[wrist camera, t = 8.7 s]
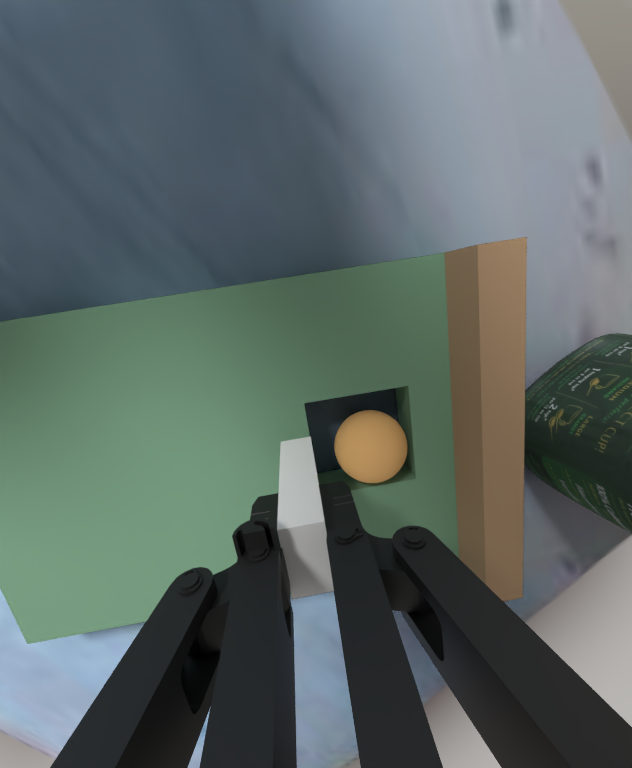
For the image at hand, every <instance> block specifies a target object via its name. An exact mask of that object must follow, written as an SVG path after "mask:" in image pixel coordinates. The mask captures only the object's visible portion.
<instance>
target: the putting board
mask: <svg viewBox="0 0 632 768" xmlns="http://www.w3.org/2000/svg"><path fill="white" fill-rule="evenodd" d="M526 254H527V237H524V238H518V239H511V240H505V241H498V242H492V243H485V244H479V245H474V246H470V247H466V248H462V249H458V250H454V251H450V252H446V253H440V254H434V255H427V256H421V257H414V258H408V259H401V260H395V261H388V262H382V263H375V264H369V265H362V266H356V267H350V268H343V269H337V270H330V271H324V272H317V273H311V274H304V275H298V276H291V277H285V278H278V279H272V280H265V281H259V282H252V283H246V284H239V285H233V286H227V287H220V288H214V289H207V290H201V291H194V292H188V293H181V294H175V295H168V296H162V297H155V298H149V299H142V300H136V301H129V302H123V303H116V304H110V305H104V306H97V307H91V308H84V309H78V310H71V311H65V312H58V313H52V314H45V315H39V316H32V317H26V318H19V319H13V320H6V321H0V589H1V591H2V593H3V595H4V597H5V599H6V601H7V603H8V605H9V607H10V609H11V611H12V613H13V615H14V617H15V619H16V621H17V624H18V626H19V628H20V630H21V632H22V634H23V636H24V638H25V640H26V642H27V644H30V643H35V642H41V641H46V640H51V639H57V638H62V637H67V636H72V635H78V634H83V633H88V632H94V631H99V630H104V629H109V628H115V627H120V626H125V625H131V624H136V623H141V622H146V621H147V620H148V618H149V616H150V615H151V613H152V612H153V610H154V609H155V607H156V606H157V604H158V603H159V601H160V600H161V598H162V597H163V595H164V594H165V592H166V591H167V589H168V588H169V586H170V584H171V583H172V582H173V581H174V580H175V579H176V578H177V577H178V576H179V575H181V574H182V573H184V572H185V571H188V570H190V569H192V568H197V567H204V568H208V569H209V570H210V571H212V574H213V575H214V574H216V573H218V572H221V571H223V570H225V569H227V568H229V567H231V566H232V565H233V564H235V563H236V562H237V559H238V557H237V554H236V550H235V546H234V542H233V538H232V535H233V533H234V531H235V530H236V529H237V528H238V527H239V526H240V525H241V524H243V523H245V522H246V521H249V520H250V516H251V510H252V505H253V504H254V502H255V501H256V499H257V498H258V497H260V496H265V495H271V494H276V493H279V470H280V445H281V442H282V441H288V440H293V439H299V438H304V437H310V434H309V428H308V422H307V416H306V410H305V404H304V403H309V402H315V401H321V400H327V399H333V398H339V397H345V396H351V395H357V394H363V393H369V392H374V391H380V390H386V389H392V388H396V399H397V410H398V421H399V425H400V426H401V427H402V429H403V431H404V433H405V436H406V439H407V456H406V459H405V462H404V464H403V466H402V467H401V469H400V470H399V471H398V472H397V473H396V474H395V475H394V476H393V477H391V478H390V479H388V480H385V481H383V482H379V483H365V482H361V481H358V480H356V479H354V478H352V477H351V476H349V475H348V474H347V473H346V472H345V471H344V470H343V469H339V470H333V471H327V472H322V473H317V475H318V481H319V485H320V484H325V483H331V482H336V481H344V482H345V483H346V484H347V485H348V486H349V487H350V490H351V493H352V496H353V499H354V502H355V506H356V509H357V512H358V515H359V518H360V521H361V524H362V527H363V528H364V530H365V531H366V532H367V533H369V534H371V535H373V536H376V537H381V538H393V535H394V533H395V532H396V531H397V530H399V529H400V528H402V527H406V526H420V527H424V528H427V529H428V530H429V531H431V532H432V533H434V534H435V535H436V536H437V537H438V538H439V539H440V540H441V541H442V542H443V543H444V544H445V545H446V546H447V547H448V548H449V549H450V550H451V551H452V552H453V553H454V554H455V555H456V556H457V557H458V558H459V559H460V560H461V561H462V562H463V563H464V564H465V565H466V566H467V567H468V568H469V569H470V570H471V571H472V572H473V573H474V574H475V575H476V576H477V577H479V578H480V579H481V580H482V581H483V582H484V583H485V584H486V585H487V586H488V587H489V588H490V589H491V590H492V591H493V592H494V593H495V594H496V595H497V596H498V597H499V598H500V599H501V600H502V601H508V600H513V599H518V598H523V525H524V435H525V345H526ZM290 594H291V591H290Z"/></svg>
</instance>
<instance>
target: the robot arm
mask: <svg viewBox="0 0 632 768" xmlns="http://www.w3.org/2000/svg"><path fill="white" fill-rule="evenodd" d="M232 538H233V542H234V546H235V550H236V554H237V557H238V559H237V562H236V563H235V564H233V565H232V566H231V567H229V568H227V569H225V570H223V571H221V572H218V573H216V574H214V575H213V574H212V571H210V570H209V569H208V568H204V567H197V568H192V569H190V570H188V571H185V572H184V573H182V574H181V575H179V576H178V577H177V578H176V579H175V580H174V581H173V582H172V583H171V584H170V586H169V588H168V589H167V591H166V592H165V594H164V595H163V597H162V598H161V600H160V601H159V603H158V604H157V606H156V607H155V609H154V610H153V612H152V613H151V615H150V616H149V618H148V620H147V621H146V623H145V624H144V626H143V627H142V629H141V630H140V632H139V633H138V635H137V636H136V638H135V639H134V641H133V642H132V644H131V645H130V647H129V648H128V650H127V652H126V653H125V655H124V656H123V658H122V659H121V661H120V662H119V664H118V665H117V667H116V668H115V670H114V671H113V673H112V674H111V676H110V677H109V679H108V680H107V682H106V684H105V685H104V687H103V688H102V690H101V691H100V693H99V694H98V696H97V697H96V699H95V700H94V702H93V703H92V705H91V706H90V708H89V709H88V711H87V712H86V714H85V716H84V717H83V719H82V720H81V722H80V723H79V725H78V726H77V728H76V729H75V731H74V732H73V734H72V735H71V737H70V738H69V740H68V741H67V743H66V744H65V746H64V748H63V749H62V751H61V752H60V754H59V755H58V757H57V758H56V760H55V761H54V763H53V764H52V766H51V767H50V768H187V767H188V765H189V762H190V759H191V757H192V754H193V751H194V749H195V746H196V743H197V741H198V738H199V735H200V733H201V730H202V727H203V725H204V722H205V719H206V717H207V714H208V712H209V709H210V713H209V719H208V724H207V730H206V735H205V741H204V747H203V752H202V758H201V763H200V768H297V761H296V717H295V672H294V628H293V611H292V606H291V602H290V591H291V596H292V599H297V598H302V597H307V596H312V595H317V594H322V593H327V592H332V591H334V595H335V601H336V608H337V614H338V621H339V627H340V634H341V640H342V647H343V653H344V660H345V666H346V673H347V680H348V686H349V693H350V699H351V706H352V712H353V719H354V725H355V732H356V738H357V745H358V751H359V758H360V764H361V768H443V766H442V763H441V760H440V757H439V754H438V751H437V748H436V745H435V742H434V739H433V736H432V732H431V730H430V727H429V723H428V720H427V717H426V714H425V711H424V708H423V705H422V702H421V699H420V696H419V692H418V689H417V686H416V683H415V680H414V677H413V674H412V671H411V668H410V665H409V662H408V659H407V656H406V652H405V649H404V646H403V643H402V640H401V637H400V634H399V631H398V628H397V625H396V622H395V619H394V615H393V612H392V610H395V611H401V613H402V615H403V617H404V619H405V620H406V622H407V623H408V625H409V626H410V628H411V629H412V631H413V633H414V634H415V636H416V637H417V639H418V640H419V642H420V643H421V645H422V646H423V648H424V649H425V651H426V652H427V654H428V656H429V657H430V659H431V660H432V662H433V663H434V665H435V666H436V668H437V669H438V671H439V672H440V674H441V675H442V677H443V678H444V680H445V682H446V683H447V685H448V686H449V688H450V689H451V691H452V692H453V694H454V695H455V697H456V698H457V700H458V701H459V703H460V704H461V706H462V708H463V709H464V711H465V712H466V714H467V715H468V717H469V718H470V720H471V721H472V723H473V724H474V726H475V727H476V729H477V731H478V732H479V733H480V735H481V737H482V738H483V740H484V741H485V743H486V744H487V746H488V747H489V749H490V750H491V752H492V753H493V755H494V757H495V758H496V760H497V761H498V763H499V764H500V766H501V767H502V768H632V727H631V726H630V725H629V724H628V723H627V722H626V721H625V720H624V719H623V718H622V717H621V716H619V714H617V712H616V711H614V710H613V709H612V708H611V707H610V706H609V705H608V704H607V703H606V702H605V701H604V700H603V699H602V698H601V697H600V696H599V695H598V694H597V693H596V692H595V691H594V690H593V689H592V688H591V687H590V686H589V685H588V684H587V683H586V682H585V681H584V680H583V679H582V678H581V677H580V676H579V675H578V674H577V673H576V672H575V671H574V670H573V669H572V668H571V667H570V666H568V665H567V664H566V663H565V662H564V661H563V660H562V659H561V658H560V657H559V656H558V655H557V654H556V653H555V652H554V651H553V650H552V649H551V648H550V647H549V646H548V645H547V644H546V643H545V642H544V641H543V640H542V639H541V638H540V637H539V636H538V635H537V634H536V633H535V632H534V631H533V630H532V629H531V628H530V627H529V626H528V625H527V624H526V623H525V622H524V621H522V620H521V619H520V618H519V617H518V616H517V615H516V614H515V613H514V612H513V611H512V610H511V609H510V608H509V607H508V606H507V605H506V604H505V603H504V602H503V601H502V600H501V599H500V598H499V597H498V596H497V595H496V594H495V593H494V592H493V591H492V590H491V589H490V588H489V587H488V586H487V585H486V584H485V583H484V582H483V581H482V580H481V579H480V578H479V577H477V576H476V575H475V574H474V573H473V572H472V571H471V570H470V569H469V568H468V567H467V566H466V565H465V564H464V563H463V562H462V561H461V560H460V559H459V558H458V557H457V556H456V555H455V554H454V553H453V552H452V551H451V550H450V549H449V548H448V547H447V546H446V545H445V544H444V543H443V542H442V541H441V540H440V539H439V538H438V537H437V536H436V535H435V534H434V533H432V532H431V531H429V530H428V529H427V528H424V527H420V526H406V527H402V528H400V529H399V530H397V531H396V532H395V533H394V535H393V538H381V537H376V536H373V535H371V534H369V533H367V532H366V531H365V530H364V528H363V527H362V524H361V521H360V518H359V515H358V512H357V509H356V506H355V502H354V499H353V496H352V493H351V490H350V487H349V486H348V485H347V484H346V483H345V482H344V481H336V482H331V483H325V484H320V485H319V481H318V475H317V469H316V464H315V458H314V452H313V447H312V441H311V436H310V437H304V438H299V439H293V440H288V441H282V442H281V445H280V470H279V493H276V494H271V495H265V496H260V497H258V498H257V499H256V501H255V502H254V504H253V505H252V510H251V516H250V520H249V521H246V522H245V523H243V524H241V525H240V526H239V527H238V528H237V529H236V530H235V531H234V533H233V535H232ZM210 706H211V708H210Z"/></svg>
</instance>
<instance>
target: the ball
mask: <svg viewBox="0 0 632 768" xmlns="http://www.w3.org/2000/svg"><path fill="white" fill-rule="evenodd" d="M334 448H335V454H336V458H337V460H338V462H339V464H340V466H341V467H342V469H343V470H344V471H345V472H346V473H347V474H348V475H349V476H351V477H352V478H354V479H356V480H358V481H361V482H365V483H379V482H383V481H385V480H388V479H390V478H391V477H393V476H394V475H395V474H396V473H397V472H398V471H399V470H400V469H401V467H402V466H403V464H404V462H405V459H406V456H407V439H406V436H405V433H404V431H403V429H402V427H401V426H400V425H399V423H398V422H397V421H396V420H395V419H394V418H392V417H391V416H389V415H388V414H386V413H383V412H380V411H376V410H364V411H360V412H357V413H354V414H353V415H351V416H349V417H348V418H347V419H346V420H345V421H344V422H343V423H342V424H341V426H340V427H339V429H338V431H337V434H336V437H335V443H334Z"/></svg>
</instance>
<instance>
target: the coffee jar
mask: <svg viewBox="0 0 632 768" xmlns="http://www.w3.org/2000/svg"><path fill="white" fill-rule="evenodd" d="M524 463H525V465H526V466H527V467H528V468H529V469H530V470H531V471H532V472H533V473H534V474H535V475H536V476H537V477H538V478H540V479H541V480H542V481H544V482H545V483H547V484H548V485H550V486H551V487H553V488H554V489H556V490H557V491H559V492H561V493H562V494H564V495H565V496H567V497H569V498H570V499H572V500H574V501H575V502H577V503H579V504H581V505H582V506H584V507H586V508H588V509H590V510H591V511H593V512H595V513H597V514H598V515H600V516H602V517H604V518H605V519H607V520H609V521H611V522H613V523H614V524H616V525H618V526H620V527H621V528H623V529H625V530H627V531H628V532H630V533H632V335H627V334H608V335H604V336H601V337H598V338H596V339H594V340H592V341H590V342H588V343H586V344H584V345H583V346H581V347H580V348H578V349H577V350H575V351H573V352H572V353H571V354H569V355H567V356H566V357H565V358H563V359H562V360H560V361H559V362H558V363H556V364H555V365H554V366H553V367H552V368H550V369H549V370H548V371H547V372H546V373H544V374H543V375H542V376H541V377H540V378H539V379H537V380H536V381H535V382H534V383H533V384H532V385H531V386H530V387H529V388H528V389H527V390H526V391H525V435H524Z"/></svg>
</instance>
